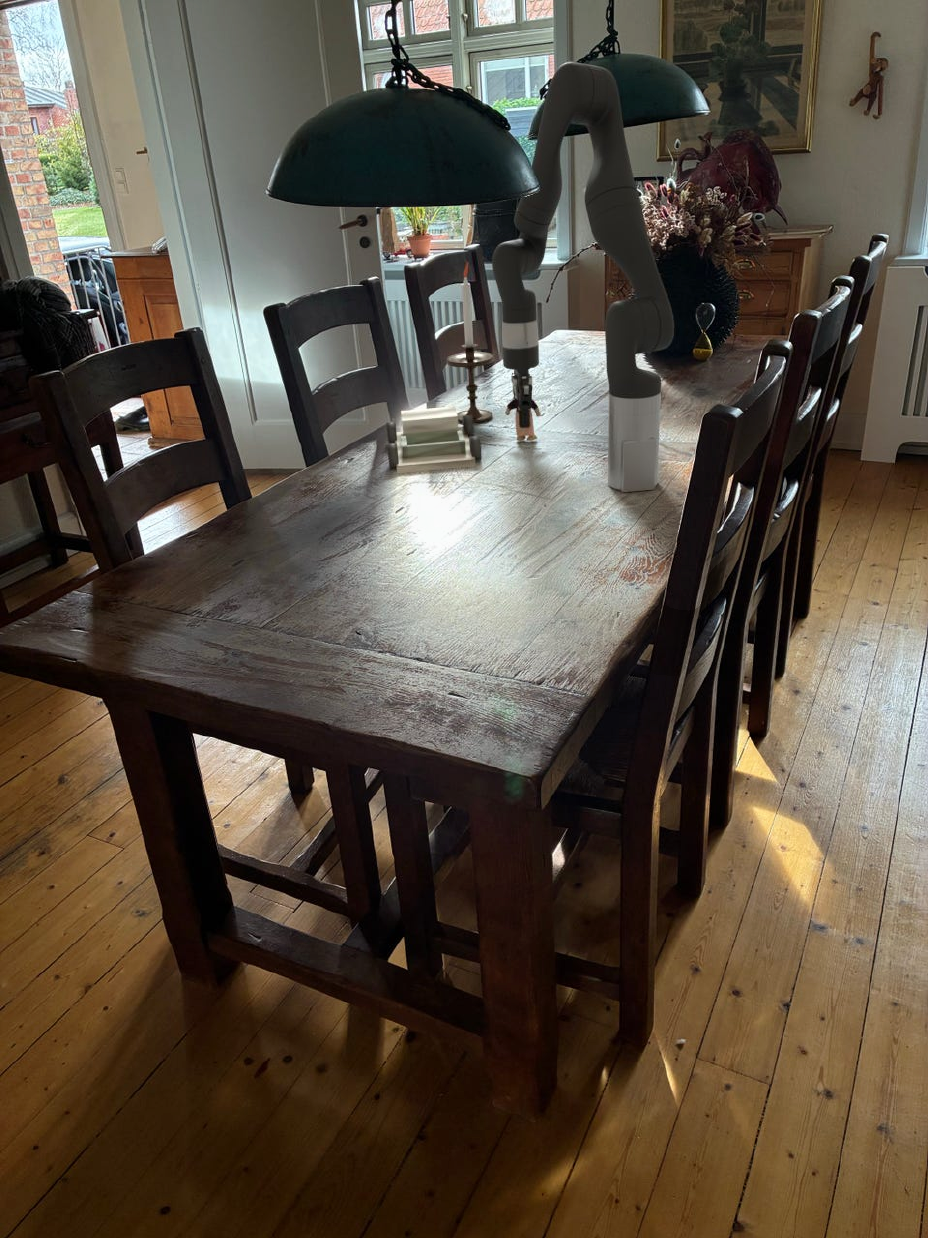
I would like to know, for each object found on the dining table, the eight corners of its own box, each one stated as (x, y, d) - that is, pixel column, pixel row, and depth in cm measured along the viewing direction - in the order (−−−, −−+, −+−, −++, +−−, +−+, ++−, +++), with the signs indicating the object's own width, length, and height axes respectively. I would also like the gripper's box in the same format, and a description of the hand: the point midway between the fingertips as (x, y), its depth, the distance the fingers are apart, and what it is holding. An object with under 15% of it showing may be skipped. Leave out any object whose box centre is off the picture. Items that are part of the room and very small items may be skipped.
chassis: (482, 465, 187) (481, 434, 184) (389, 473, 186) (386, 442, 183) (471, 432, 208) (470, 403, 205) (388, 439, 207) (385, 411, 204)
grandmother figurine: (541, 435, 201) (540, 377, 195) (541, 440, 197) (539, 381, 192) (506, 437, 202) (504, 379, 196) (505, 442, 198) (503, 383, 192)
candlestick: (497, 411, 222) (490, 257, 206) (494, 424, 213) (487, 264, 196) (453, 413, 224) (442, 260, 207) (448, 425, 214) (437, 266, 198)
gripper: (543, 348, 184) (546, 432, 192) (533, 335, 196) (535, 414, 204) (506, 351, 184) (510, 435, 192) (498, 338, 196) (502, 417, 204)
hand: (523, 424), depth 198 cm, fingers closed on grandmother figurine, 3 cm apart
